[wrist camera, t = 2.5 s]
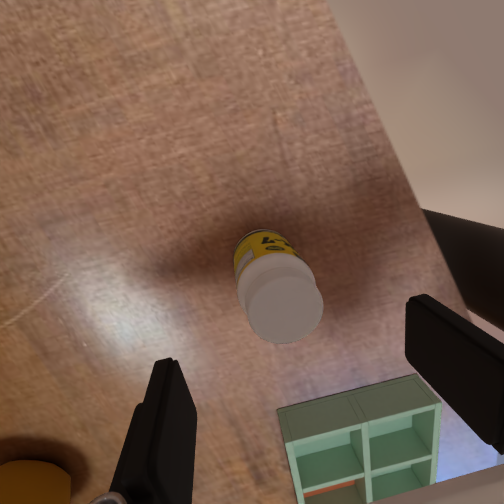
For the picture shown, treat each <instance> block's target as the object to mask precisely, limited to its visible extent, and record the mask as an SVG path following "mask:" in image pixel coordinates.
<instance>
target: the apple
mask: <svg viewBox="0 0 504 504" xmlns="http://www.w3.org/2000/svg"><path fill="white" fill-rule="evenodd" d="M70 499H71V481H70V476H69V475H68V474H67V473H66V472H65V471H64V470H63V469H61V468H60V467H58V466H56V465H55V464H53V463H48V462H44V461H39V460H17V461H10V462H7V463H5V464H3V465H1V466H0V504H70Z"/></svg>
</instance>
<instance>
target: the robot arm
mask: <svg viewBox="0 0 504 504" xmlns="http://www.w3.org/2000/svg"><path fill="white" fill-rule="evenodd" d="M405 356H406V359H407V360H408V362H409V363H410V364H411V365H412V366H413V367H414V368H415V370H416V371H417V372H418V373H419V374H420V375H421V376H422V377H423V378H424V379H425V380H426V381H427V382H428V383H429V384H430V385H431V387H432V388H433V389H434V390H435V391H436V392H437V393H438V394H439V395H440V396H441V397H442V398H443V399H444V400H445V401H446V402H447V403H448V405H449V406H450V407H451V408H452V409H453V410H454V411H455V412H456V413H457V414H458V415H459V416H460V417H461V418H462V419H463V420H464V422H465V423H466V424H467V425H468V426H469V427H470V428H471V429H472V430H473V431H474V432H475V433H476V434H477V435H478V436H479V437H480V438H481V440H483V441H484V442H485V443H486V444H488V445H492V446H493V447H494V448H495V449H496V450H497V451H498V452H499V453H500V454H501V455H503V454H504V344H503V343H501V342H500V341H498V340H497V339H495V338H494V337H492V336H491V335H489V334H488V333H486V332H485V331H483V330H482V329H480V328H478V327H477V326H475V325H474V324H472V323H471V322H469V321H468V320H466V319H465V318H463V317H461V316H460V315H458V314H457V313H455V312H454V311H452V310H451V309H449V308H448V307H446V306H445V305H443V304H441V303H440V302H438V301H437V300H435V299H434V298H432V297H431V296H429V295H427V294H421V295H417V296H413V297H410V298H409V301H408V302H407V303H406V318H405ZM196 430H197V411H196V407H195V405H194V402H193V400H192V397H191V394H190V392H189V389H188V386H187V384H186V381H185V378H184V376H183V373H182V371H181V368H180V365H179V363H178V361H177V360H174V361H173V359H172V358H166V359H162V360H158V361H156V362H155V364H154V367H153V370H152V374H151V377H150V381H149V384H148V387H147V391H146V394H145V398H144V401H143V403H139V404H138V405H137V406H136V408H135V410H134V413H133V417H132V420H131V423H130V426H129V429H128V432H127V436H126V439H125V442H124V445H123V448H122V451H121V455H120V458H119V461H118V464H117V467H116V470H115V474H114V477H113V480H112V483H111V486H110V490H109V492H108V493H104V494H102V495H100V496H98V497H96V498H95V499H94V500H92V501H91V502H90V503H89V504H192V490H193V475H194V460H195V445H196ZM367 504H504V464H501V465H498V466H494V467H491V468H487V469H484V470H480V471H477V472H473V473H470V474H466V475H463V476H459V477H456V478H452V479H449V480H445V481H442V482H438V483H435V484H432V485H428V486H425V487H421V488H418V489H414V490H411V491H408V492H404V493H401V494H397V495H394V496H391V497H387V498H384V499H380V500H377V501H374V502H370V503H367Z"/></svg>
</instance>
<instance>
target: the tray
mask: <svg viewBox="0 0 504 504" xmlns="http://www.w3.org/2000/svg"><path fill="white" fill-rule="evenodd" d="M441 411H442V402H441V400H440V399H439V398H438V397H437V396H436V395H435V394H434V393H433V392H432V391H431V390H430V388H429V387H428V386H427V385H426V384H425V383H424V382H423V381H422V380H421V379H420V378H419V376H418V375H417V374H414V375H410V376H406V377H402V378H398V379H394V380H390V381H386V382H383V383H379V384H375V385H371V386H367V387H363V388H359V389H355V390H351V391H347V392H343V393H339V394H336V395H332V396H328V397H324V398H320V399H316V400H312V401H308V402H304V403H300V404H296V405H292V406H289V407H285V408H281V409H277V412H278V417H279V421H280V426H281V430H282V434H283V439H284V443H285V448H286V452H287V456H288V461H289V465H290V470H291V474H292V479H293V483H294V487H295V492H296V496H297V501H298V504H367V503H370V502H374V501H377V500H380V499H384V498H387V497H391V496H394V495H397V494H401V493H404V492H408V491H411V490H414V489H418V488H421V487H425V486H428V485H432V484H435V483H436V473H437V461H438V448H439V436H440V424H441Z"/></svg>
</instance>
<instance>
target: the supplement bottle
mask: <svg viewBox="0 0 504 504" xmlns="http://www.w3.org/2000/svg"><path fill="white" fill-rule="evenodd" d="M233 264H234V272H235V280H236V289H237V297H238V300H239V303H240V305H241V307H242V309H243V311H244V312H245V313H246V314H247V316H248V321H249V324H250V326H251V328H252V329H253V331H254V332H255V333H256V334H257V335H258V336H259V337H260V338H262V339H264V340H266V341H268V342H271V343H276V344H287V343H292V342H296V341H299V340H301V339H303V338H304V337H306V336H307V335H309V334H310V333H311V332H312V331H313V330H314V329H315V328H316V327H317V325H318V324H319V322H320V320H321V318H322V314H323V299H322V296H321V294H320V292H319V290H318V289H317V287H316V282H315V278H314V275H313V273H312V271H311V269H310V268H309V266H308V265H307V264H306V263H305V261H304V260H303V259H302V258H301V257H300V255H299V254H298V253H297V252H296V251H295V249H294V248H293V247H292V246H291V244H290V243H289V242H288V241H287V240H286V238H285V237H283V236H282V235H281V234H279V233H277V232H275V231H272V230H267V229H259V230H255V231H252V232H250V233H248V234H246V235H245V236H244V237H243V238H241V240H240V241H239V242H238V244H237V245H236V247H235V250H234V254H233Z"/></svg>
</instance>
